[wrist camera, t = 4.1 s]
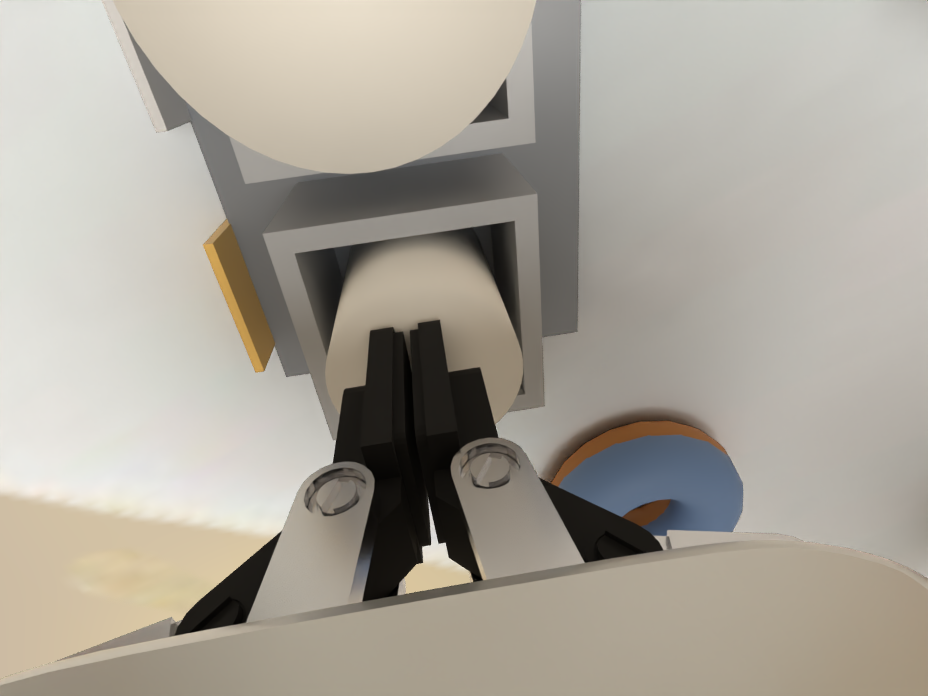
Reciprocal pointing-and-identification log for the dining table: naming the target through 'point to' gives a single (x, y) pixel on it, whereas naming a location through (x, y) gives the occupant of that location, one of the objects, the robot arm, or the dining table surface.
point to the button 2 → (426, 310)
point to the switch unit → (401, 209)
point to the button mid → (333, 71)
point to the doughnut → (657, 477)
